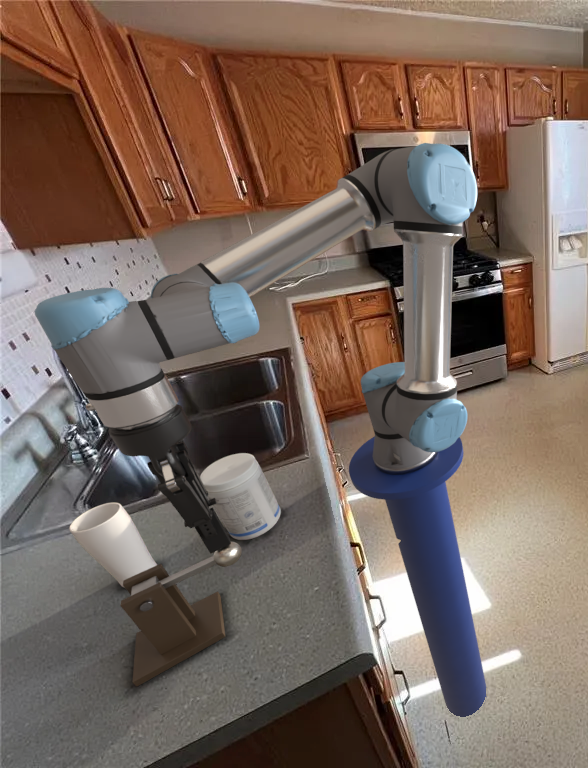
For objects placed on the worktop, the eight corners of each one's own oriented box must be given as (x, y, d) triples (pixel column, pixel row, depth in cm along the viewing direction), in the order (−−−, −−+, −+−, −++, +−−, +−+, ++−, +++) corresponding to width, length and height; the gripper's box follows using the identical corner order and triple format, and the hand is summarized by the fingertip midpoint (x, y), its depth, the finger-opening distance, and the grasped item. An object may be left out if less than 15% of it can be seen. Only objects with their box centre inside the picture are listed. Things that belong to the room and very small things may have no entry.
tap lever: (243, 548, 67) (235, 532, 65) (246, 563, 65) (237, 547, 63) (142, 596, 61) (129, 580, 59) (140, 614, 58) (127, 598, 56)
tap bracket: (220, 595, 70) (187, 543, 64) (225, 637, 64) (188, 582, 58) (139, 637, 65) (94, 584, 59) (136, 687, 58) (85, 633, 52)
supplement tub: (254, 504, 90) (227, 450, 83) (292, 508, 88) (267, 453, 81) (218, 540, 81) (184, 483, 74) (259, 545, 79) (228, 487, 72)
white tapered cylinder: (109, 585, 74) (59, 525, 67) (151, 556, 79) (109, 497, 72) (129, 599, 71) (79, 537, 64) (171, 567, 76) (130, 507, 69)
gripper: (111, 406, 55) (189, 532, 66) (98, 450, 45) (192, 590, 56) (179, 387, 59) (242, 510, 70) (181, 424, 49) (253, 559, 60)
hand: (220, 545), depth 63 cm, fingers closed
